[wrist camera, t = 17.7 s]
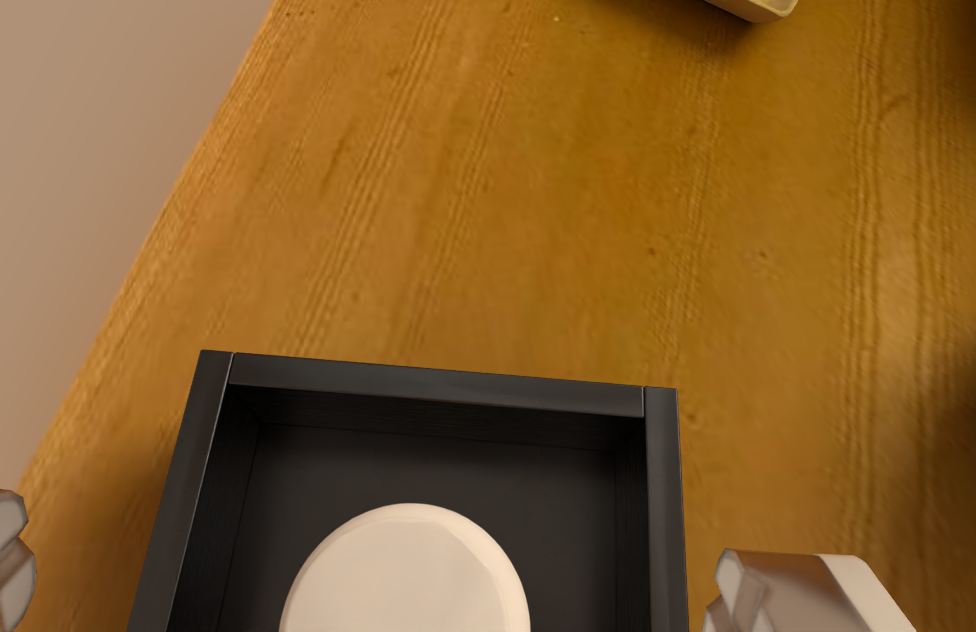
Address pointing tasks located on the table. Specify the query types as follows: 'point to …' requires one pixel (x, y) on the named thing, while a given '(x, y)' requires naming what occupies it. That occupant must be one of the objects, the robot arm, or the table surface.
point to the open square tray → (417, 487)
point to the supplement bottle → (407, 577)
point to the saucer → (757, 9)
